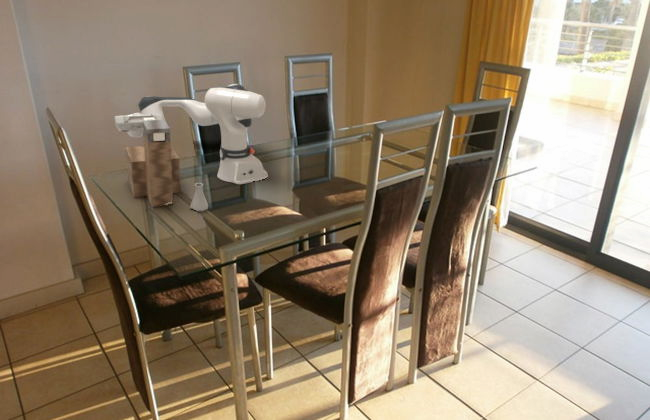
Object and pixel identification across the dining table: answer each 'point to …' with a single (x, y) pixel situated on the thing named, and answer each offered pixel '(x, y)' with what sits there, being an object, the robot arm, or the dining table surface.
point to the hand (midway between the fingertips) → (141, 116)
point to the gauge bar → (156, 135)
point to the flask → (199, 199)
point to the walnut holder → (154, 166)
